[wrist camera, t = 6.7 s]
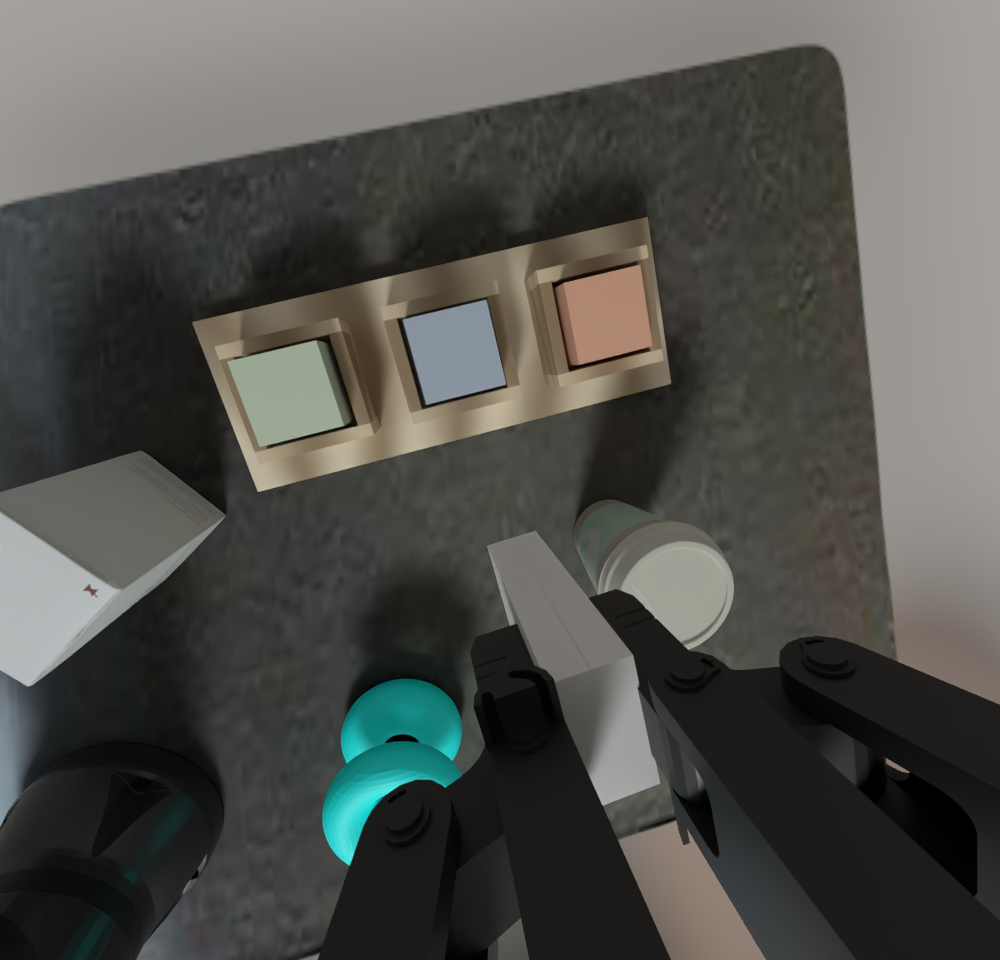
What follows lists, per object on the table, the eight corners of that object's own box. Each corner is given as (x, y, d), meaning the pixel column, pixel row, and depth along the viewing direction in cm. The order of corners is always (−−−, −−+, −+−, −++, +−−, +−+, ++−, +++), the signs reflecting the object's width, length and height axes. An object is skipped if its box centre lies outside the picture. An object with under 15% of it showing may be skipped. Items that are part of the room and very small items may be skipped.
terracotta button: (562, 365, 34) (579, 364, 30) (547, 292, 33) (563, 282, 29) (627, 348, 35) (652, 346, 31) (616, 276, 33) (640, 264, 30)
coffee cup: (554, 489, 39) (607, 541, 27) (654, 477, 40) (745, 523, 28) (559, 585, 41) (611, 672, 29) (654, 572, 42) (740, 650, 30)
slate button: (426, 400, 33) (426, 404, 29) (405, 325, 31) (402, 319, 27) (497, 382, 33) (506, 384, 29) (479, 307, 32) (486, 299, 28)
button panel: (262, 488, 35) (236, 507, 31) (198, 323, 32) (158, 315, 28) (665, 383, 38) (699, 385, 33) (641, 221, 35) (675, 197, 30)
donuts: (335, 902, 33) (302, 785, 30) (356, 780, 42) (333, 684, 40) (478, 866, 34) (458, 751, 31) (467, 756, 43) (451, 661, 41)
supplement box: (142, 446, 34) (-21, 491, 21) (230, 515, 36) (126, 592, 23) (73, 518, 34) (-125, 603, 22) (163, 583, 36) (27, 693, 24)
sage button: (280, 437, 32) (259, 447, 28) (252, 362, 30) (227, 361, 27) (354, 418, 32) (344, 425, 28) (330, 343, 31) (316, 340, 27)
